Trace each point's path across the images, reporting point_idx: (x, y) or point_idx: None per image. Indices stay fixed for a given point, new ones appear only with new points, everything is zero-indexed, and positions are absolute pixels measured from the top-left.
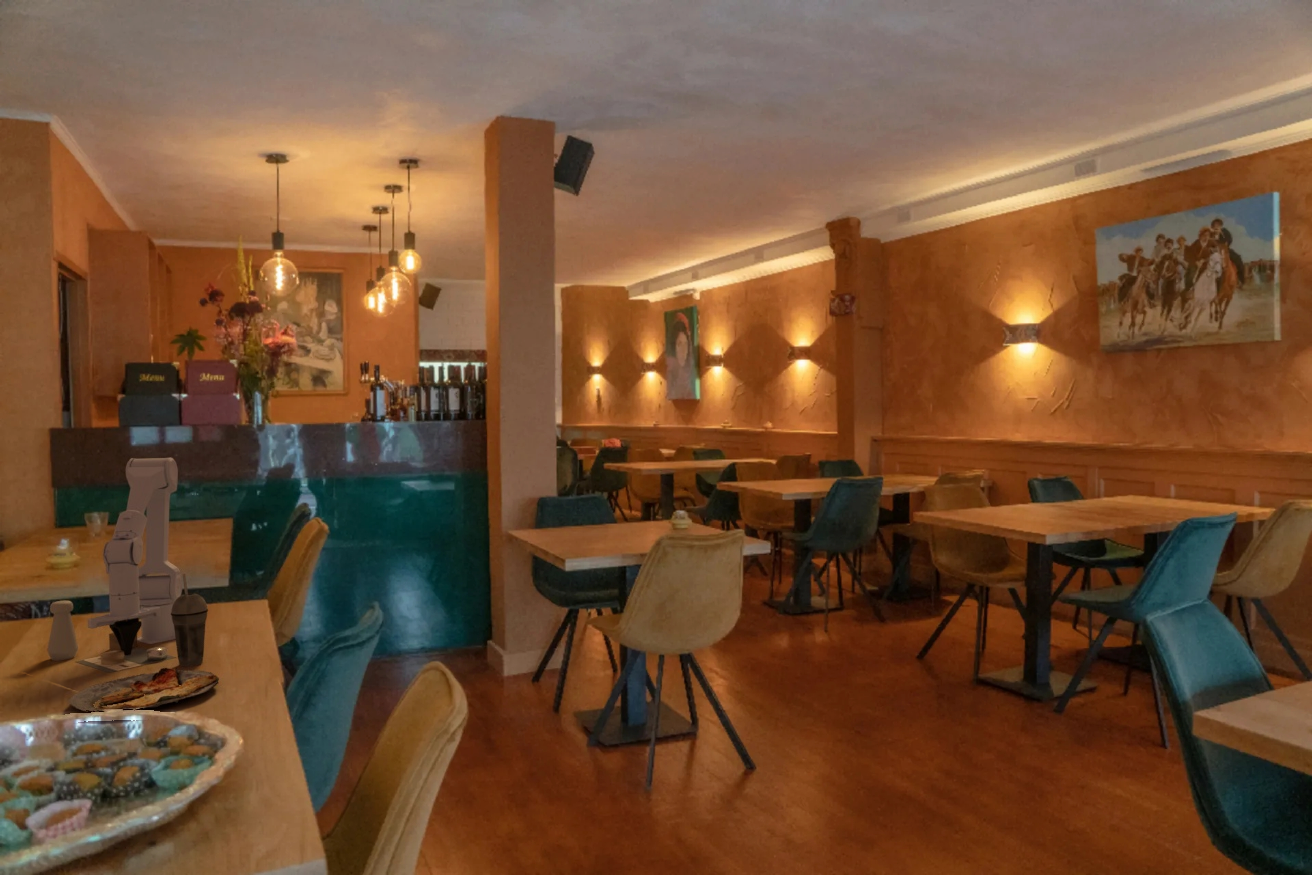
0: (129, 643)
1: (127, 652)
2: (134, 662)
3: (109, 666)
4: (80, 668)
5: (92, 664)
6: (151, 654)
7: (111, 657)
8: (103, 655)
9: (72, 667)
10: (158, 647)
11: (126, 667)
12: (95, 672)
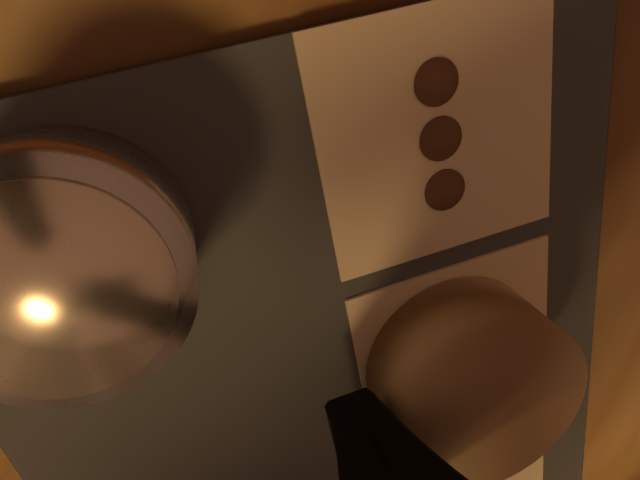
0: (392, 478)
1: (369, 404)
2: (317, 234)
3: (523, 218)
4: (621, 345)
5: None
6: (152, 186)
7: (526, 313)
8: (583, 359)
9: (630, 399)
10: (24, 376)
11: (447, 40)
12: (633, 140)
